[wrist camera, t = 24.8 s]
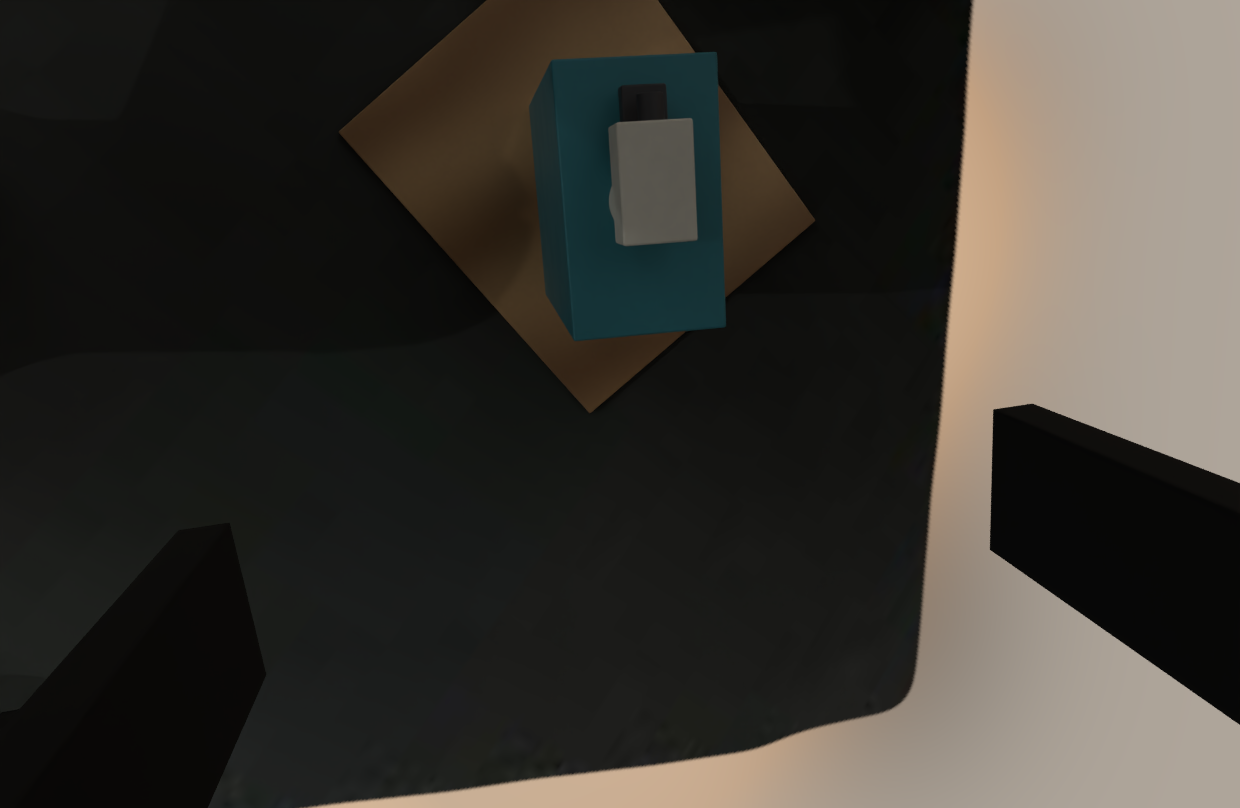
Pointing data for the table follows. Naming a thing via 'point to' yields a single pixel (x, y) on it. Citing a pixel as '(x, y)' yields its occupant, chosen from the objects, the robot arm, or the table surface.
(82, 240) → the table surface
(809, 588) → the table surface
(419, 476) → the table surface
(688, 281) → the teal box
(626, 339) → the cork mat
